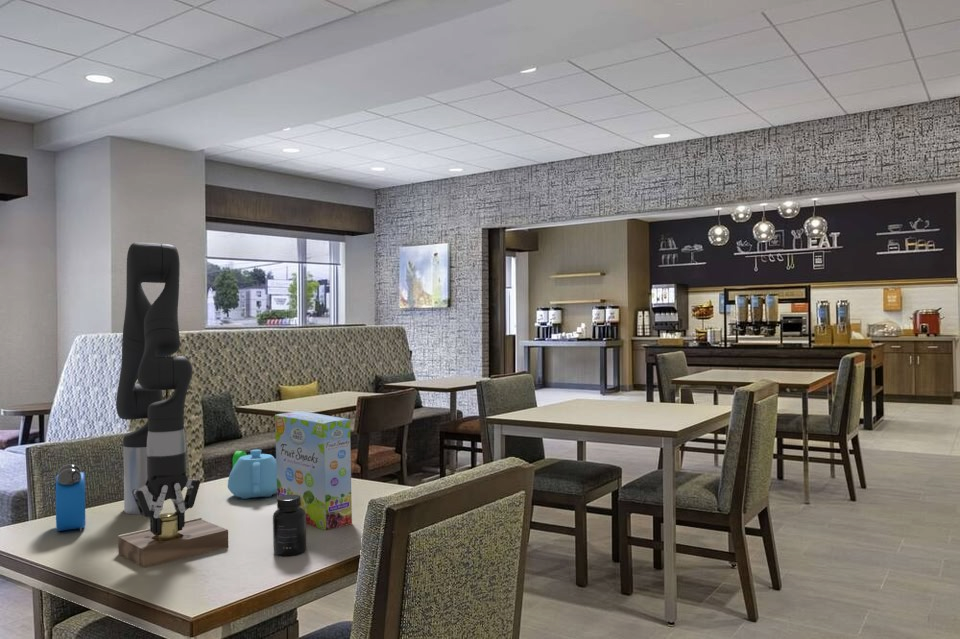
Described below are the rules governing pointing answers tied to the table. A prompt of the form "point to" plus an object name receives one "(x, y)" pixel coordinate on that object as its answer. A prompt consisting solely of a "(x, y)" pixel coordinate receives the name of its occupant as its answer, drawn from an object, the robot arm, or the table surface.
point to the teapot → (254, 476)
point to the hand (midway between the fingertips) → (167, 531)
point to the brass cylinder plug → (168, 527)
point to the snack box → (315, 465)
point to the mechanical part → (238, 456)
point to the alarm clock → (70, 498)
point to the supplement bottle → (289, 527)
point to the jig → (172, 543)
